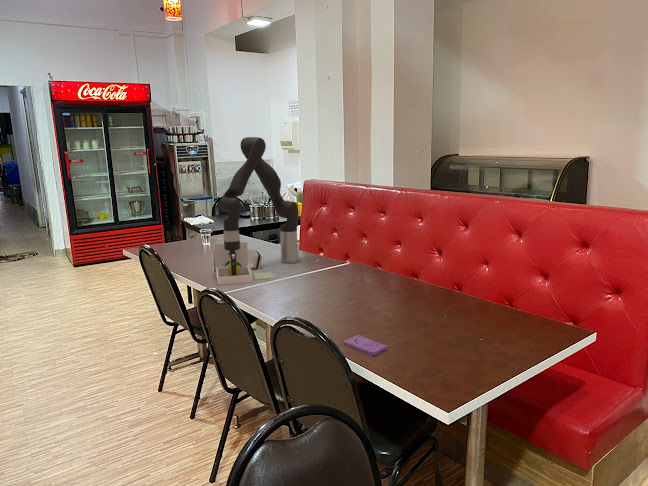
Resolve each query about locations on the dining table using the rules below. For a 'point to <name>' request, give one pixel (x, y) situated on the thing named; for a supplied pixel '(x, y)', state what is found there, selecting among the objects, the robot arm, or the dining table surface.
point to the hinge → (254, 259)
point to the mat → (263, 275)
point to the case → (221, 260)
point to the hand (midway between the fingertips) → (233, 272)
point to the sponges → (365, 345)
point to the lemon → (230, 268)
